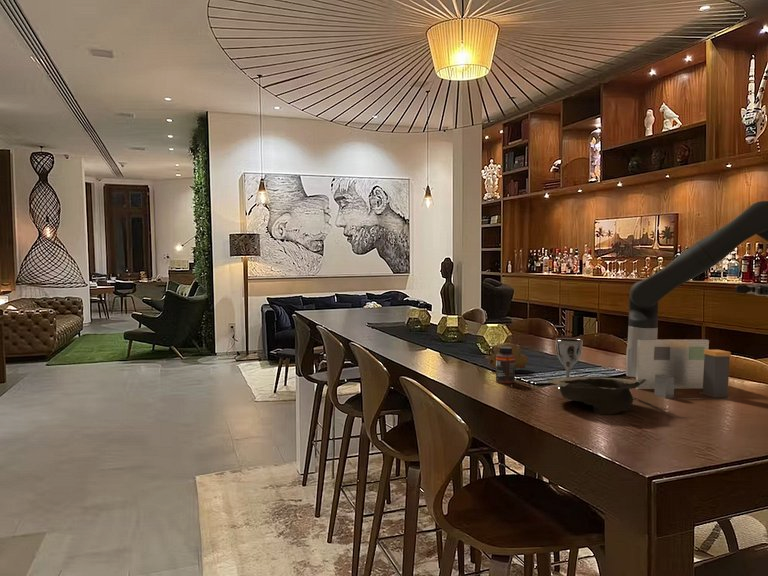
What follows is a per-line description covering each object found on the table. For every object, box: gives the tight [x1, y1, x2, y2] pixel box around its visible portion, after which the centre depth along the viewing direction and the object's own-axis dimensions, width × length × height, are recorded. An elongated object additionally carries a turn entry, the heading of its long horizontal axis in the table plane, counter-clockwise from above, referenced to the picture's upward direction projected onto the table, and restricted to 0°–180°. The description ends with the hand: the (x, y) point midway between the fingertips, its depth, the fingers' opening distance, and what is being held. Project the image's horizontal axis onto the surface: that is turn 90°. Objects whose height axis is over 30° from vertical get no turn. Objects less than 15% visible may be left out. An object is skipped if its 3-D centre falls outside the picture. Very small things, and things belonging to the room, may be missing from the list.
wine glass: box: [554, 337, 584, 390], centre depth 180 cm, size 8×8×15 cm
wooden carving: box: [483, 342, 530, 370], centre depth 206 cm, size 16×5×10 cm, turn 108°
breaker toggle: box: [701, 349, 732, 398], centre depth 168 cm, size 5×5×13 cm
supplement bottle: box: [495, 347, 516, 385], centre depth 186 cm, size 6×6×11 cm
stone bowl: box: [547, 376, 646, 415], centre depth 158 cm, size 25×25×9 cm
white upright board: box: [635, 339, 725, 400], centre depth 170 cm, size 23×15×16 cm
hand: (747, 289), depth 169 cm, fingers open, 8 cm apart
